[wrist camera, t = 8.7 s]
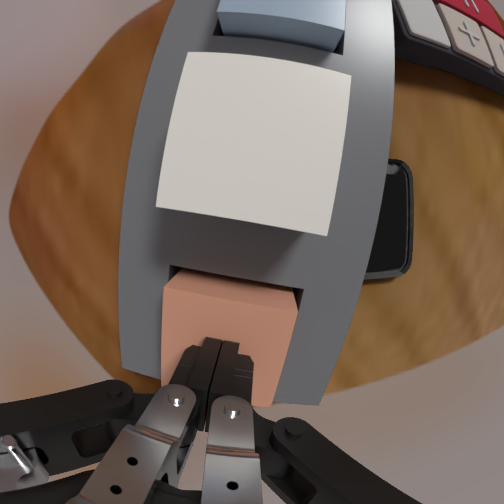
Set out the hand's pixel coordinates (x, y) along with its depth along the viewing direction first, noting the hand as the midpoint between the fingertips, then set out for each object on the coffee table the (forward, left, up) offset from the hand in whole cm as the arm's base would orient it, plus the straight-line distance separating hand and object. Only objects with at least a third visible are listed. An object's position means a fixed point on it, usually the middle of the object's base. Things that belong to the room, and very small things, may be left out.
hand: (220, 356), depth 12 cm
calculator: (-14, -26, -7) cm, 31 cm away
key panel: (0, -9, -7) cm, 11 cm away
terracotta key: (0, 0, -4) cm, 4 cm away
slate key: (0, -18, -4) cm, 18 cm away
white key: (0, -9, -2) cm, 9 cm away
